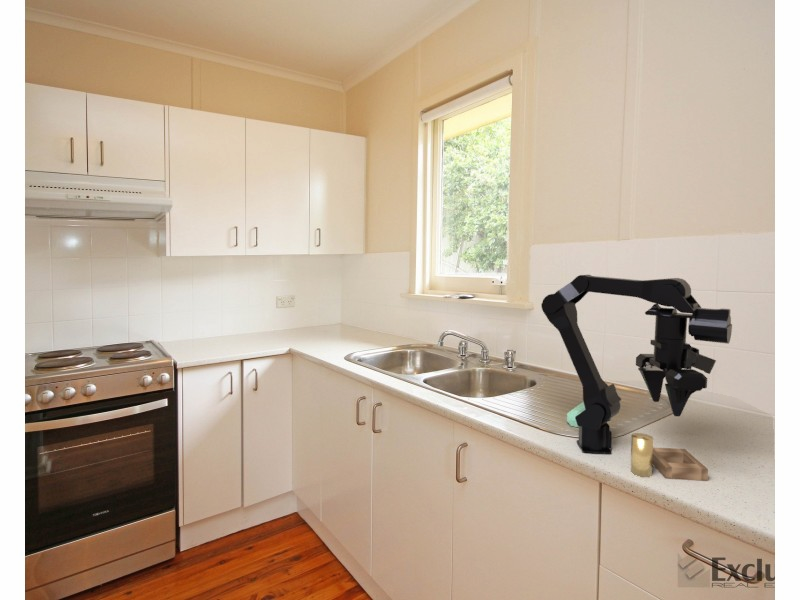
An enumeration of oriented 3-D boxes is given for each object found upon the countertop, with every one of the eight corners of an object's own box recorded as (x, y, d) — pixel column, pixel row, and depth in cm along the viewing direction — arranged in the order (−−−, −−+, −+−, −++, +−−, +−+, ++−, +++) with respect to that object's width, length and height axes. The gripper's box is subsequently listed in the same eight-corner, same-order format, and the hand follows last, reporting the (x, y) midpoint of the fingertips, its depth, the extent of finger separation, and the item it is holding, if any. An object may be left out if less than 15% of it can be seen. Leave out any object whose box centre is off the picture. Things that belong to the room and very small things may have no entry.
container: (579, 407, 120) (608, 385, 139) (559, 411, 124) (590, 389, 143) (587, 429, 119) (616, 404, 138) (567, 432, 123) (597, 408, 142)
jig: (665, 478, 93) (665, 466, 93) (646, 457, 103) (646, 447, 103) (707, 480, 92) (707, 469, 92) (684, 459, 102) (684, 448, 101)
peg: (634, 477, 94) (635, 440, 93) (627, 468, 98) (628, 432, 97) (655, 478, 93) (656, 440, 93) (647, 469, 97) (648, 433, 97)
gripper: (739, 346, 85) (733, 426, 87) (686, 330, 104) (682, 396, 105) (677, 345, 86) (672, 424, 88) (636, 329, 105) (633, 394, 106)
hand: (666, 408), depth 97 cm, fingers open, 9 cm apart
